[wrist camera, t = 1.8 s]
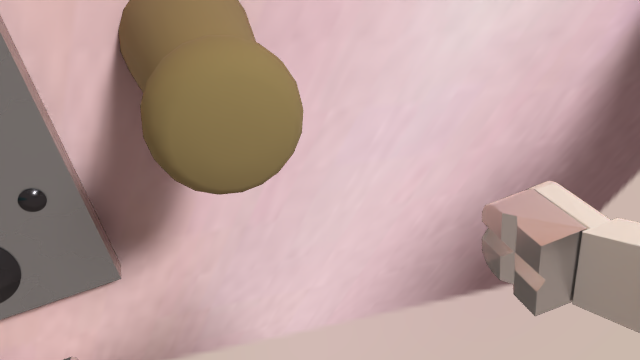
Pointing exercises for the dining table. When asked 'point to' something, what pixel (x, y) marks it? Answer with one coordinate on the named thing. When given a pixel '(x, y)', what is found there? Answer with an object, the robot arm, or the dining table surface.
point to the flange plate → (42, 203)
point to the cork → (210, 93)
